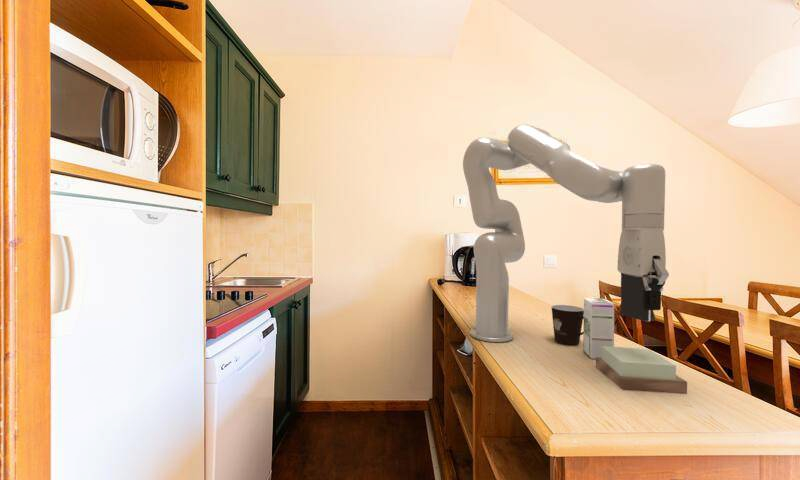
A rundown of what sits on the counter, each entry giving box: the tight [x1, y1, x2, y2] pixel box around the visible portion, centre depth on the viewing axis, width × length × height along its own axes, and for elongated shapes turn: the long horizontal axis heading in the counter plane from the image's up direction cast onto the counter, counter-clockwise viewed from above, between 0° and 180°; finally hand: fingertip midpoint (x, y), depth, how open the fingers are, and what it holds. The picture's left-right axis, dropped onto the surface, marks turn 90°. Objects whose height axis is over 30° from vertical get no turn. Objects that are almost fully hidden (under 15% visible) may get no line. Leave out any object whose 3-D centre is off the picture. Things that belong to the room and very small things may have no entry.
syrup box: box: [582, 297, 615, 360], centre depth 90 cm, size 6×6×14 cm
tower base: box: [595, 357, 688, 395], centre depth 76 cm, size 12×12×3 cm
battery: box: [620, 272, 656, 322], centre depth 75 cm, size 7×4×11 cm, turn 11°
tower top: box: [601, 346, 677, 381], centre depth 75 cm, size 10×10×3 cm
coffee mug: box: [551, 304, 584, 347], centre depth 99 cm, size 12×9×10 cm
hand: (640, 305), depth 75 cm, fingers closed on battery, 6 cm apart
